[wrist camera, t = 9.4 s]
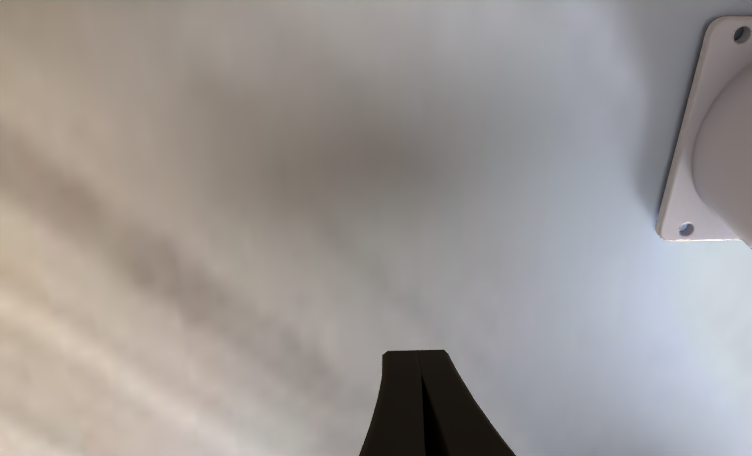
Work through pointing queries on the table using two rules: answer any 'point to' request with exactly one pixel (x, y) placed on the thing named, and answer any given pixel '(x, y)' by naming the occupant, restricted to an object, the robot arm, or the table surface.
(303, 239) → the table surface
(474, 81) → the table surface
